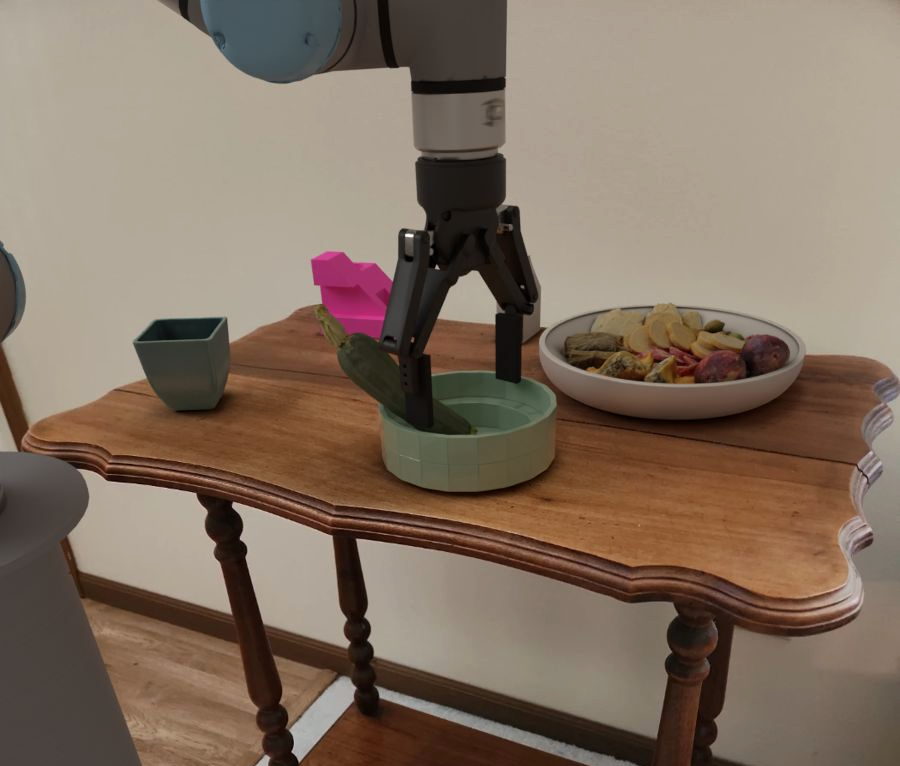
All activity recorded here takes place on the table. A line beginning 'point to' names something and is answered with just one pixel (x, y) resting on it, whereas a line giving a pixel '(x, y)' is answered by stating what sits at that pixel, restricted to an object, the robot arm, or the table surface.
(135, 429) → the table surface
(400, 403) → the vegetable
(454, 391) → the mixing bowl
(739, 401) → the bowl
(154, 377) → the flower pot
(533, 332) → the milk carton
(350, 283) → the bracket
